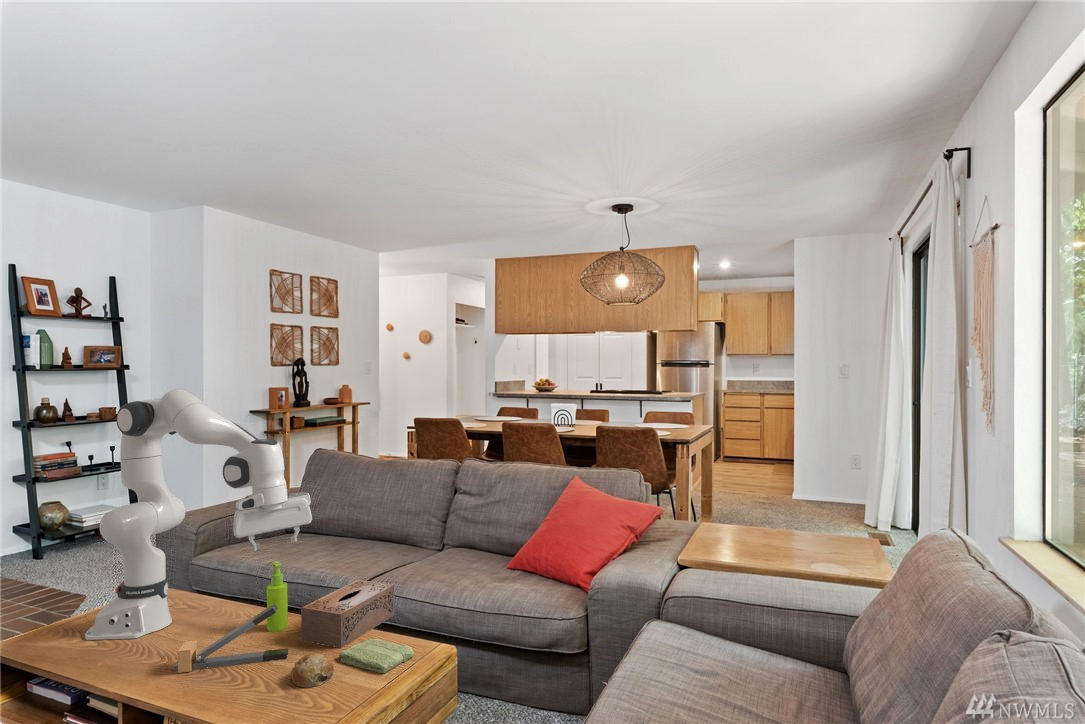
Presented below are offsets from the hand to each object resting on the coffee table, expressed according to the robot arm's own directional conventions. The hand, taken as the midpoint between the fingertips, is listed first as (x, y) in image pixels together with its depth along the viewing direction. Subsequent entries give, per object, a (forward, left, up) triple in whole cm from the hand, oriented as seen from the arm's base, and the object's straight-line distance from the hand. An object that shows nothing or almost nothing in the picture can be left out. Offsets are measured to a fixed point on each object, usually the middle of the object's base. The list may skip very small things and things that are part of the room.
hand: (276, 546), depth 177 cm
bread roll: (+11, -16, -31) cm, 36 cm away
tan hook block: (-22, -1, -31) cm, 38 cm away
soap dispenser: (-3, +21, -31) cm, 38 cm away
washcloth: (+27, -9, -31) cm, 42 cm away
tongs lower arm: (-11, -1, -31) cm, 32 cm away
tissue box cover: (+19, +15, -31) cm, 39 cm away
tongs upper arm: (-10, -1, -23) cm, 25 cm away
